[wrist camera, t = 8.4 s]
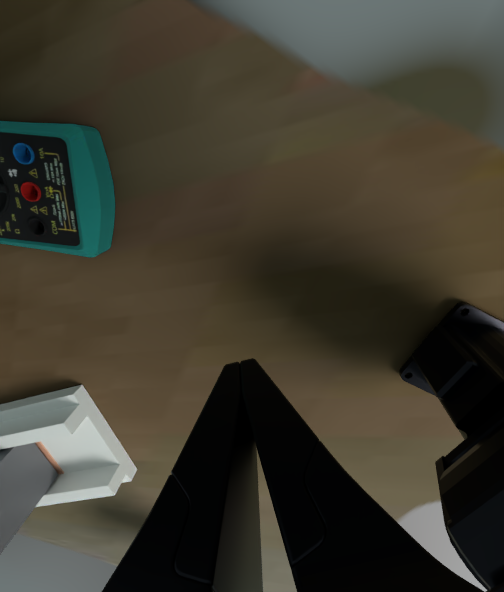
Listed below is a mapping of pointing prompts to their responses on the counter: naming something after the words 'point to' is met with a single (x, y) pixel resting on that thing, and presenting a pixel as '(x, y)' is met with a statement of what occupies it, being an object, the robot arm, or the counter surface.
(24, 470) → the knob
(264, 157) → the counter surface
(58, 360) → the counter surface
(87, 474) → the knob mount
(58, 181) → the digital multimeter
